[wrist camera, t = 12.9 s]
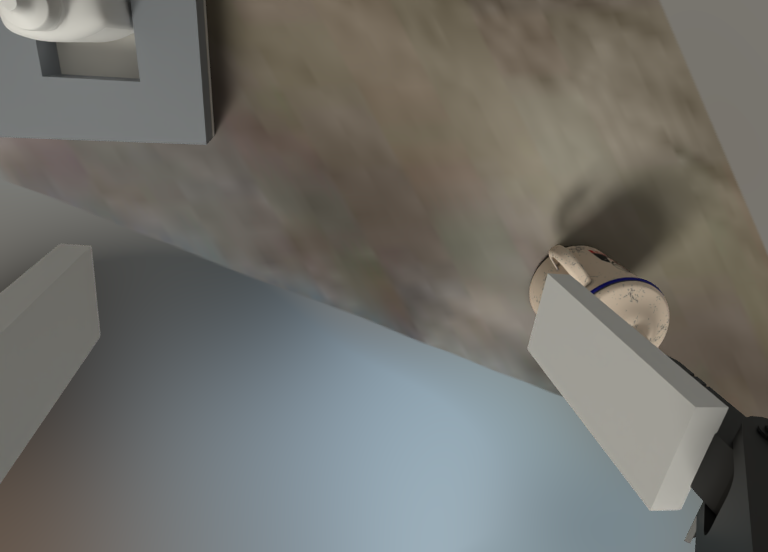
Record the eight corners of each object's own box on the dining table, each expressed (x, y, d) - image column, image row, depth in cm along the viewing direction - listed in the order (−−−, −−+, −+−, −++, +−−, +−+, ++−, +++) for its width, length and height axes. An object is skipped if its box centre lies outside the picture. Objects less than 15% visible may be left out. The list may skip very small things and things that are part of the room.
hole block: (-39, -139, 32) (-82, -162, 28) (198, -112, 34) (186, -131, 31) (18, 127, 38) (-11, 136, 35) (214, 135, 41) (206, 144, 37)
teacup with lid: (627, 288, 52) (709, 350, 42) (552, 340, 54) (613, 413, 43) (574, 199, 47) (652, 244, 37) (493, 259, 49) (546, 318, 38)
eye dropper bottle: (131, 64, 37) (61, 73, 26) (45, 27, 35) (-67, 19, 24) (148, 2, 35) (82, -16, 25) (60, -40, 34) (-52, -80, 23)
